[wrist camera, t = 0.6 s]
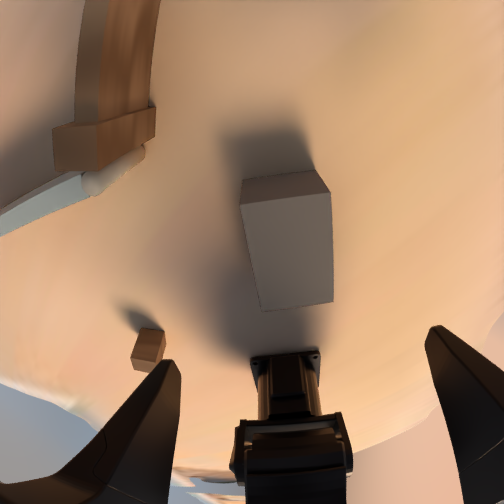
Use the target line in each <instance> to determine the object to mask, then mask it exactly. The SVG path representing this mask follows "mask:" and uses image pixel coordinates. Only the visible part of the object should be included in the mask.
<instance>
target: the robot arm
mask: <svg viewBox="0 0 504 504" xmlns="http://www.w3.org/2000/svg"><path fill="white" fill-rule="evenodd" d="M425 351H426V354H427V358H428V362H429V366H430V370H431V375H432V379H433V383H434V386H435V389H436V392H437V395H438V398H439V401H440V404H441V407H442V410H443V414H444V417H445V421H446V424H447V428H448V431H449V435H450V438H451V442H452V446H453V450H454V454H455V459H456V463H457V467H458V472H459V478H460V483H461V489H462V495H463V501H464V504H504V371H502V370H501V369H500V368H499V367H497V366H496V365H495V364H493V363H492V362H491V361H489V360H488V359H487V358H485V357H484V356H483V355H482V354H480V353H479V352H478V351H476V350H475V349H474V348H472V347H471V346H470V345H468V344H467V343H466V342H464V341H463V340H461V339H460V338H459V337H457V336H456V335H455V334H453V333H452V332H450V331H449V330H448V329H446V328H445V327H443V326H442V325H437V326H433V327H431V328H430V330H429V332H428V335H427V338H426V340H425ZM320 360H321V356H320V352H319V351H311V352H303V353H294V354H285V355H274V356H263V357H253V358H251V359H250V365H251V369H252V373H253V377H254V381H255V384H256V388H257V392H258V420H247V419H242V420H240V426H238V427H235V440H234V447H233V451H232V455H231V459H230V463H229V469H230V470H231V471H232V472H233V473H234V474H235V478H236V479H237V484H238V486H245V497H246V504H346V478H347V477H350V476H351V475H352V471H353V453H352V448H351V444H350V440H349V437H348V433H347V430H346V427H345V423H344V420H343V417H342V413H341V412H335V413H334V414H327V415H322V412H321V405H320V398H319V391H318V387H319V376H320ZM180 398H181V373H180V371H179V369H178V368H177V366H176V364H175V362H174V361H173V360H172V359H162V360H161V361H160V362H159V363H158V364H157V365H156V366H155V367H154V369H153V370H152V371H151V372H150V373H149V374H148V376H147V377H146V378H145V379H144V380H143V381H142V383H141V384H140V385H139V386H138V387H137V388H136V389H135V391H134V392H133V393H132V394H131V395H130V396H129V398H128V399H127V400H126V401H125V402H124V403H123V405H122V406H121V407H120V408H119V409H118V410H117V412H116V413H115V414H114V415H113V416H112V417H111V419H110V420H109V421H108V422H107V423H106V424H105V426H104V427H103V428H102V429H101V430H100V431H99V432H98V434H97V435H96V436H95V437H94V438H93V439H92V440H91V441H90V442H89V443H88V444H87V445H86V447H84V448H83V449H82V450H81V451H80V452H79V453H78V454H77V455H76V456H75V457H74V458H73V459H72V460H70V461H69V462H68V463H67V464H66V465H65V466H64V467H63V468H62V469H60V470H59V471H58V472H57V473H55V474H53V475H50V476H48V477H44V478H39V479H34V480H29V481H24V482H18V483H12V484H4V483H2V482H1V481H0V504H168V496H169V488H170V480H171V472H172V465H173V458H174V451H175V444H176V437H177V431H178V424H179V417H180Z"/></svg>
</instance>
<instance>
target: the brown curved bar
mask: <svg viewBox="0 0 504 504" xmlns="http://www.w3.org/2000/svg"><path fill="white" fill-rule="evenodd" d="M159 5H160V0H86V1H85V6H84V11H83V17H82V23H81V30H80V37H79V45H78V55H77V66H76V81H75V121H74V122H71V123H68V124H65V125H62V126H59V127H56V128H53V129H52V136H53V152H54V164H55V171H99V170H101V169H102V168H104V167H105V166H107V165H108V164H110V163H112V162H113V161H115V160H116V159H118V158H119V157H121V156H123V155H124V154H126V153H128V152H129V151H131V150H133V149H134V148H136V147H138V146H139V145H141V144H143V143H144V142H146V141H148V140H150V139H151V138H153V137H155V118H156V107H148V101H149V86H150V74H151V64H152V54H153V46H154V38H155V31H156V24H157V17H158V11H159ZM165 347H166V339H165V332H164V331H158V330H152V329H146V328H141V330H140V332H139V335H138V338H137V340H136V343H135V346H134V349H133V351H132V354H131V357H130V359H131V362H132V365H133V368H134V370H137V371H142V372H147V373H150V372H151V371H152V370H153V369H154V367H155V366H156V365H157V364H158V363H159V362H160V361H161V360H162V358H163V354H164V350H165Z"/></svg>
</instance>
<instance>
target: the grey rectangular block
mask: <svg viewBox="0 0 504 504" xmlns="http://www.w3.org/2000/svg"><path fill="white" fill-rule="evenodd" d="M239 206H240V210H241V215H242V220H243V225H244V230H245V235H246V239H247V244H248V249H249V254H250V259H251V263H252V268H253V273H254V278H255V283H256V287H257V292H258V297H259V302H260V307H261V311H262V312H266V311H274V310H282V309H289V308H296V307H303V306H310V305H317V304H324V303H330V302H333V298H334V268H333V228H332V206H331V192H330V191H329V189H328V188H327V186H326V185H325V183H324V182H323V180H322V179H321V177H320V176H319V174H318V173H317V171H316V170H312V171H304V172H296V173H288V174H281V175H274V176H267V177H260V178H253V179H247V180H242V188H241V196H240V204H239Z"/></svg>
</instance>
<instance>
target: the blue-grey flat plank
mask: <svg viewBox="0 0 504 504" xmlns="http://www.w3.org/2000/svg"><path fill="white" fill-rule="evenodd" d="M144 157H145V149H144V148H143V146H142V145H139V146H138V147H136V148H134V149H133V150H131V151H129V152H128V153H126V154H124V155H123V156H121V157H119V158H118V159H116V160H115V161H113V162H112V163H110V164H108V165H107V166H105V167H104V168H102V169H101V170H99V171H69V172H67V173H65V174H63V175H61V176H59V177H57V178H55V179H53V180H51V181H49V182H47V183H45V184H44V185H42V186H40V187H38V188H36V189H34V190H32V191H31V192H29V193H27V194H25V195H24V196H22V197H20V198H18V199H17V200H15V201H13V202H12V203H10V204H8V205H7V206H5V207H4V208H2V209H0V237H1V236H3V235H5V234H7V233H9V232H11V231H13V230H15V229H17V228H19V227H21V226H24V225H26V224H28V223H30V222H32V221H34V220H37V219H39V218H41V217H43V216H45V215H48V214H50V213H52V212H55V211H57V210H59V209H62V208H64V207H67V206H69V205H71V204H74V203H76V202H79V201H81V200H84V199H87V198H89V197H91V196H97V195H99V194H100V193H102V192H103V191H104V190H105V189H106V188H108V187H109V186H110V185H111V184H112V183H114V182H115V181H116V180H117V179H119V178H120V177H121V176H122V175H124V174H125V173H126V172H128V171H129V170H130V169H131V168H133V167H134V166H135V165H137V164H138V163H139V162H141V161H142V160H143V159H144Z"/></svg>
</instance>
